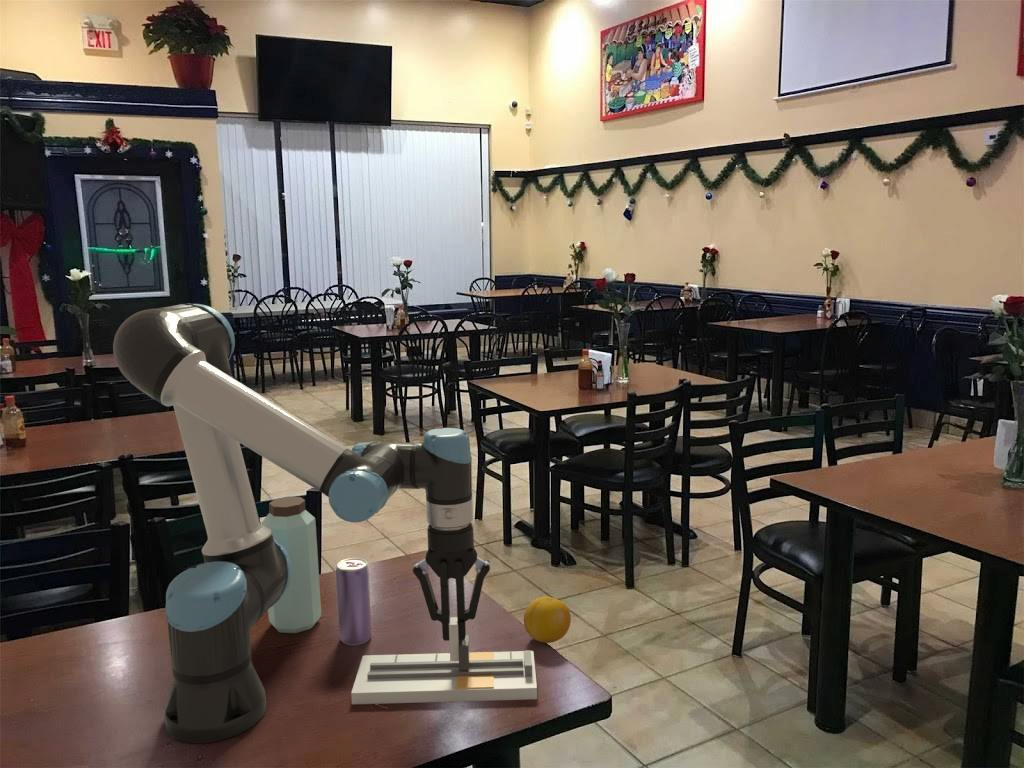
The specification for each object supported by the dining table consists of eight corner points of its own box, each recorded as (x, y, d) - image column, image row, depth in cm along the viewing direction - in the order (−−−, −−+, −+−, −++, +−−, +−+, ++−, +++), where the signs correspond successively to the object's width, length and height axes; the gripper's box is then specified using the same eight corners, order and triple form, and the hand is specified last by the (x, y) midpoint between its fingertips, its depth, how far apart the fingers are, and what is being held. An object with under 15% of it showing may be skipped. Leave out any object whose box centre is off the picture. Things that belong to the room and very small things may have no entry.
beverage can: (365, 648, 149) (360, 571, 146) (334, 645, 150) (330, 569, 148) (376, 632, 155) (373, 558, 152) (347, 630, 156) (343, 556, 153)
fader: (459, 675, 135) (458, 644, 134) (460, 664, 138) (459, 634, 137) (468, 675, 135) (468, 644, 134) (469, 664, 138) (468, 634, 137)
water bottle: (332, 619, 161) (325, 498, 156) (294, 640, 152) (285, 513, 148) (297, 607, 166) (289, 490, 161) (258, 627, 158) (248, 504, 153)
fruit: (539, 624, 157) (539, 585, 155) (577, 634, 153) (577, 594, 151) (516, 644, 149) (516, 603, 148) (555, 654, 145) (555, 613, 144)
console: (351, 704, 131) (350, 681, 130) (363, 666, 143) (362, 644, 142) (537, 699, 131) (536, 676, 131) (533, 661, 143) (533, 640, 142)
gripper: (407, 532, 128) (414, 669, 132) (489, 530, 128) (493, 667, 133) (412, 516, 136) (418, 647, 140) (490, 514, 136) (493, 644, 140)
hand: (455, 656), depth 136 cm, fingers closed
